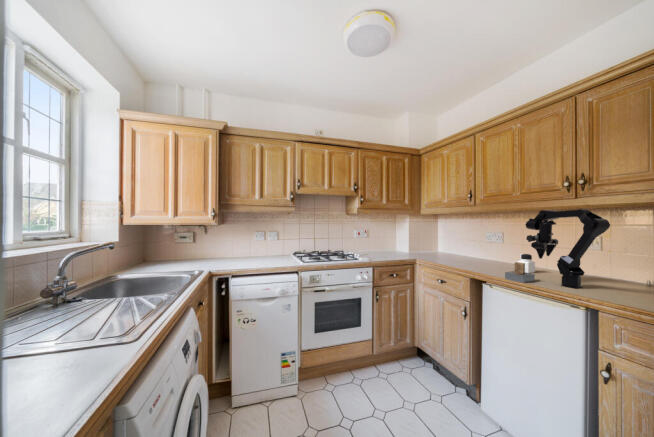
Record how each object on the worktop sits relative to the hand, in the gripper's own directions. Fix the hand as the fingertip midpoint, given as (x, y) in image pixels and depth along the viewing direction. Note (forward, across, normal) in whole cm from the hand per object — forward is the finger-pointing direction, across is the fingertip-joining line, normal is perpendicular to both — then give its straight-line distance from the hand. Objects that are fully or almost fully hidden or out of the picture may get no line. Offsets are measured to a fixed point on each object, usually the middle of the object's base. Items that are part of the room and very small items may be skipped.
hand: (544, 257), depth 149 cm
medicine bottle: (+16, -13, -15) cm, 25 cm away
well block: (+12, +17, -5) cm, 21 cm away
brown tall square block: (+12, +17, -5) cm, 21 cm away
